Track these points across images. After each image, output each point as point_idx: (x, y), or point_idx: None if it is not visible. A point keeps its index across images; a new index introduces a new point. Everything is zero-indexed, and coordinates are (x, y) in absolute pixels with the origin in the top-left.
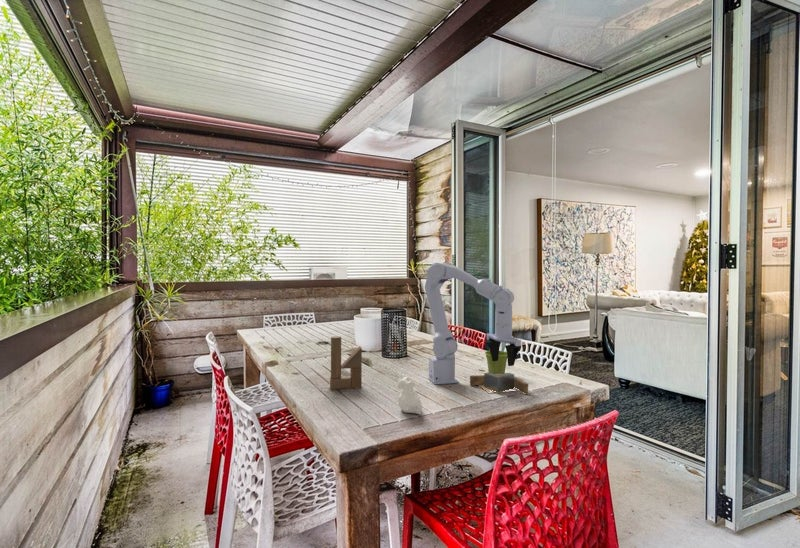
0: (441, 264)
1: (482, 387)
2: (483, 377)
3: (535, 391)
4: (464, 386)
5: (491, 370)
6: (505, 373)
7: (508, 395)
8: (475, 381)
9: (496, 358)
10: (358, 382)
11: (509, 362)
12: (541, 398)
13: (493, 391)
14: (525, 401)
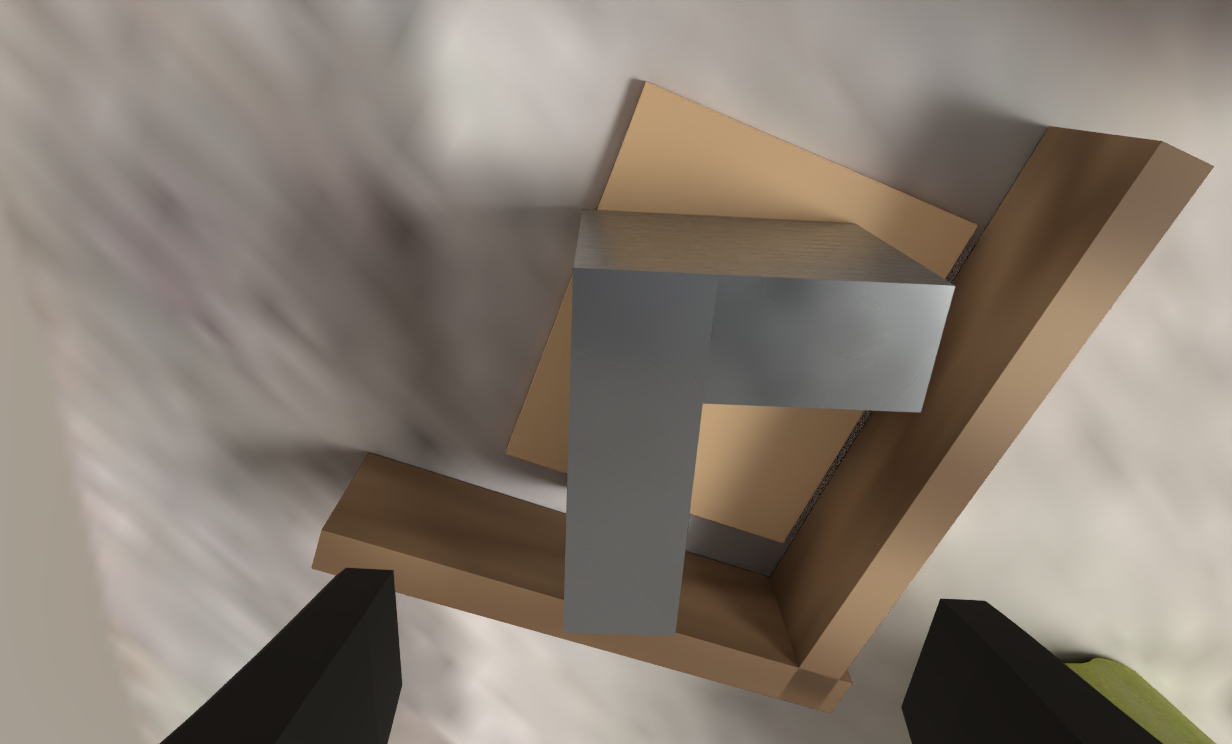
0: None
1: (866, 192)
2: (994, 350)
3: (396, 608)
4: (1129, 15)
5: (1119, 704)
6: (678, 567)
7: (432, 256)
8: (1047, 204)
9: (942, 730)
10: None
11: (284, 633)
12: (171, 486)
13: (637, 182)
14: (139, 250)
